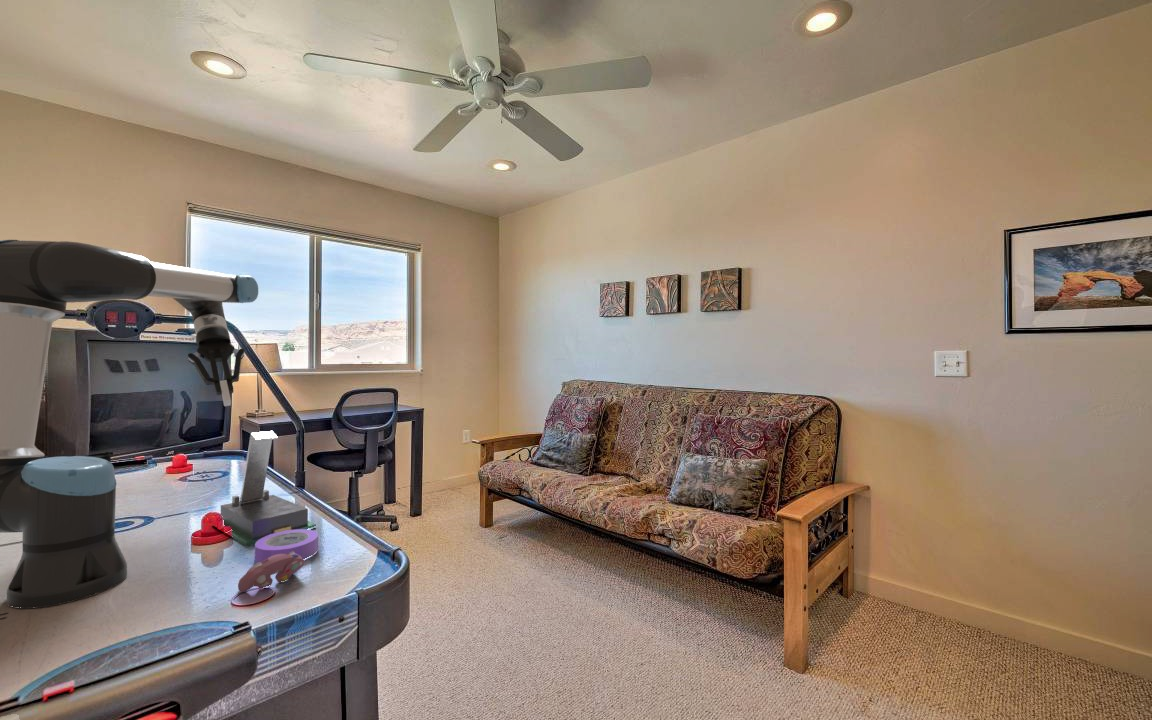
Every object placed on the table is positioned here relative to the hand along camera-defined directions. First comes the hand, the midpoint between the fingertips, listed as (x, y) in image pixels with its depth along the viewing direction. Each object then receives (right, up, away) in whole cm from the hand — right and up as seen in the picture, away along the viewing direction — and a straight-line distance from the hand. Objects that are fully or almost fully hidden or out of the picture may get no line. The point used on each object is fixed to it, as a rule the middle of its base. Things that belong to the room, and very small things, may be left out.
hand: (227, 403), depth 128 cm
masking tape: (+31, -31, -25) cm, 50 cm away
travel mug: (-18, -30, -17) cm, 39 cm away
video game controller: (+36, -31, -38) cm, 60 cm away
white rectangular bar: (+13, -17, -7) cm, 23 cm away
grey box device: (+15, -30, -8) cm, 34 cm away
